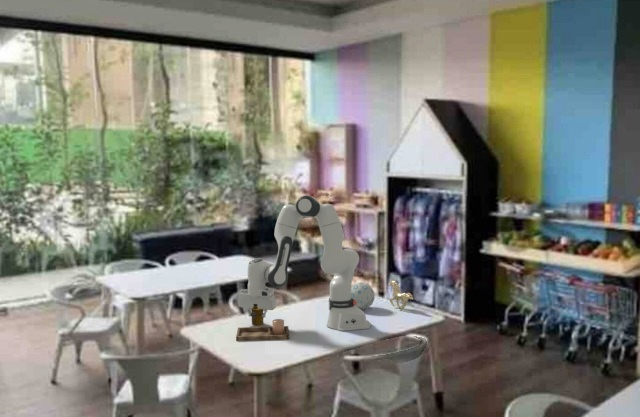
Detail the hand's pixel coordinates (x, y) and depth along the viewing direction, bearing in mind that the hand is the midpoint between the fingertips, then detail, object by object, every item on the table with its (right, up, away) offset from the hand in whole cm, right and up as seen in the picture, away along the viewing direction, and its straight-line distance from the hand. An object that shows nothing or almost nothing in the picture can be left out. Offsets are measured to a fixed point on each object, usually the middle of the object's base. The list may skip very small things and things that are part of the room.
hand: (257, 316), depth 297 cm
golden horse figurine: (+78, -1, +28) cm, 83 cm away
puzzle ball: (+56, -1, +29) cm, 63 cm away
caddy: (+5, -6, -17) cm, 18 cm away
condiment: (-1, -5, +1) cm, 5 cm away
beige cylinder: (+12, -6, -16) cm, 21 cm away
